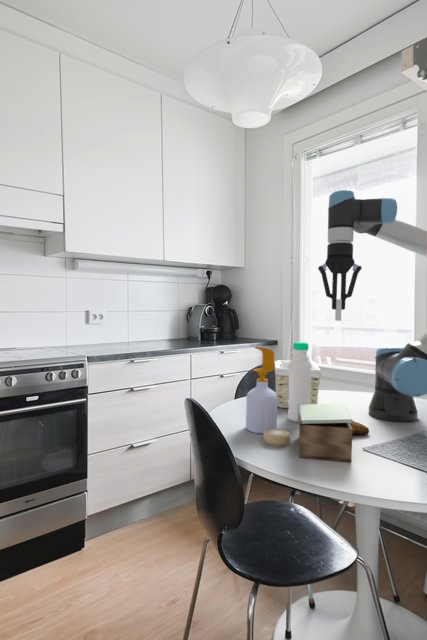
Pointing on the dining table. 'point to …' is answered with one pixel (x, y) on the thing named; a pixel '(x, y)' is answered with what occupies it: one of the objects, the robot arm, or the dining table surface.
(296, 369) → the water bottle
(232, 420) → the dining table surface
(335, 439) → the box
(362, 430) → the croissant
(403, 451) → the dining table surface
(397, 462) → the dining table surface
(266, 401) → the soap bottle
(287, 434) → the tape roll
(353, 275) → the robot arm
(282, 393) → the storage basket
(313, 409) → the lid
